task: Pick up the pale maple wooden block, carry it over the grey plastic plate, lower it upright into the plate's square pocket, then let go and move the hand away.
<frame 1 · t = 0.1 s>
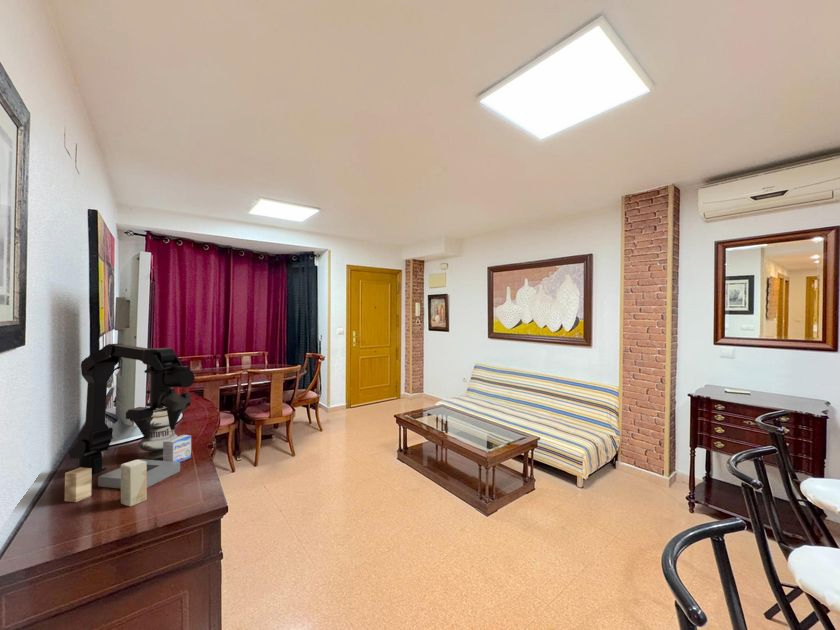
hand: (160, 433, 115), 15 cm above the table, tool pointing down, fingers open, 9 cm apart
apothecary jar: (159, 457, 134), on the table
box: (133, 502, 100), on the table
maple block: (78, 498, 102), on the table
medicine box: (177, 462, 129), on the table
pocket plate: (141, 478, 115), on the table
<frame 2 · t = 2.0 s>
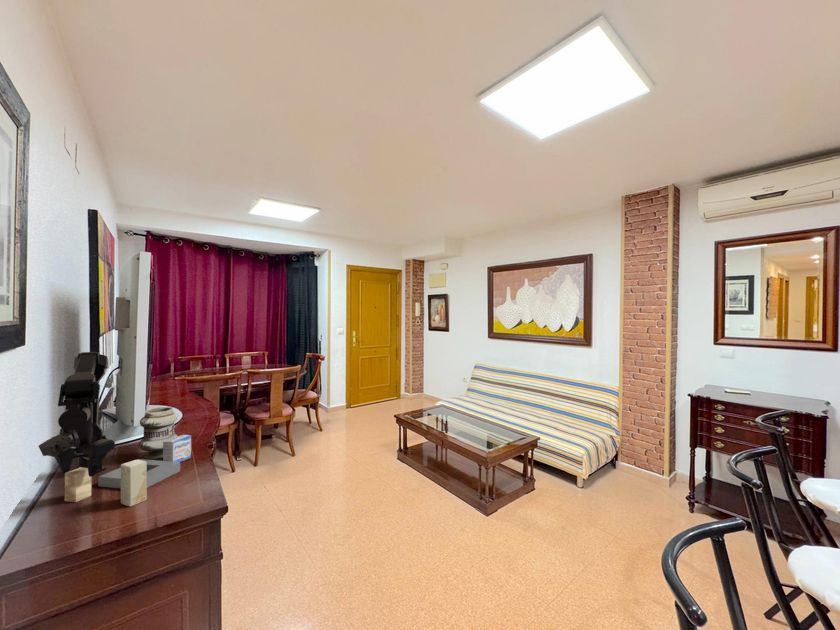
hand: (78, 474, 103), 7 cm above the table, tool pointing down, fingers open, 9 cm apart
nothing on the table moved.
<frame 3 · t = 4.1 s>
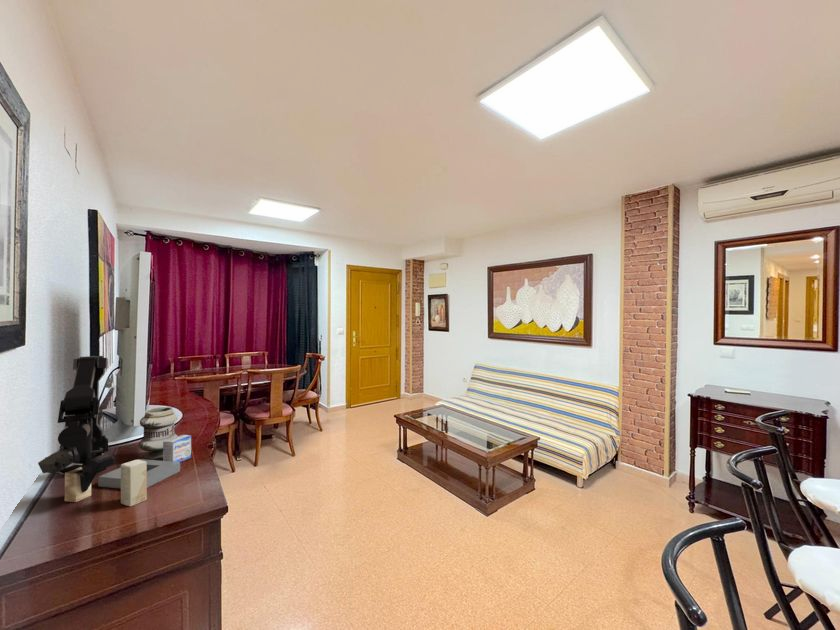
hand: (78, 491, 102), 2 cm above the table, tool pointing down, fingers closed on maple block, 4 cm apart
maple block: (78, 498, 102), on the table, touching gripper
everything else where it was.
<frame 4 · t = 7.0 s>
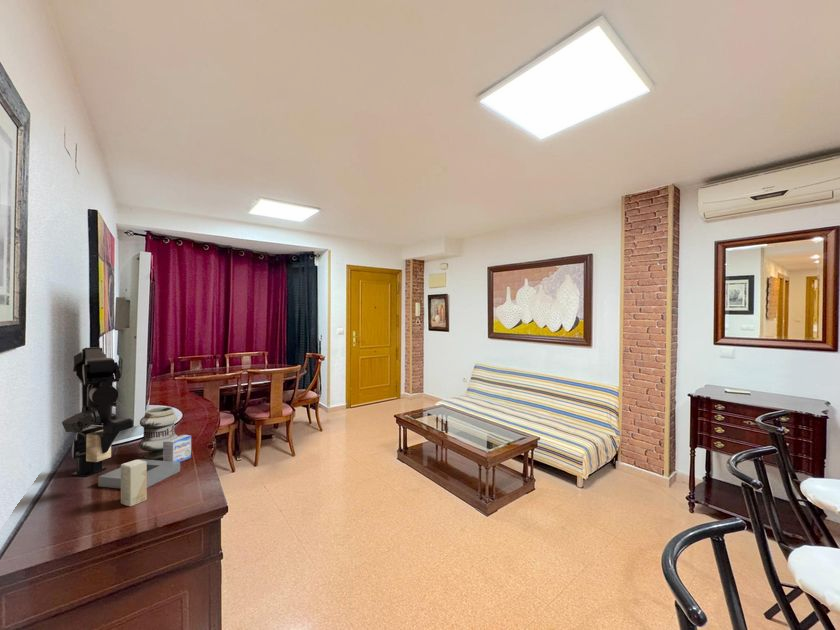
hand: (99, 452, 106), 12 cm above the table, tool pointing down, fingers closed on maple block, 4 cm apart
maple block: (98, 459, 106), point 10 cm above the table, touching gripper
everything else where it was.
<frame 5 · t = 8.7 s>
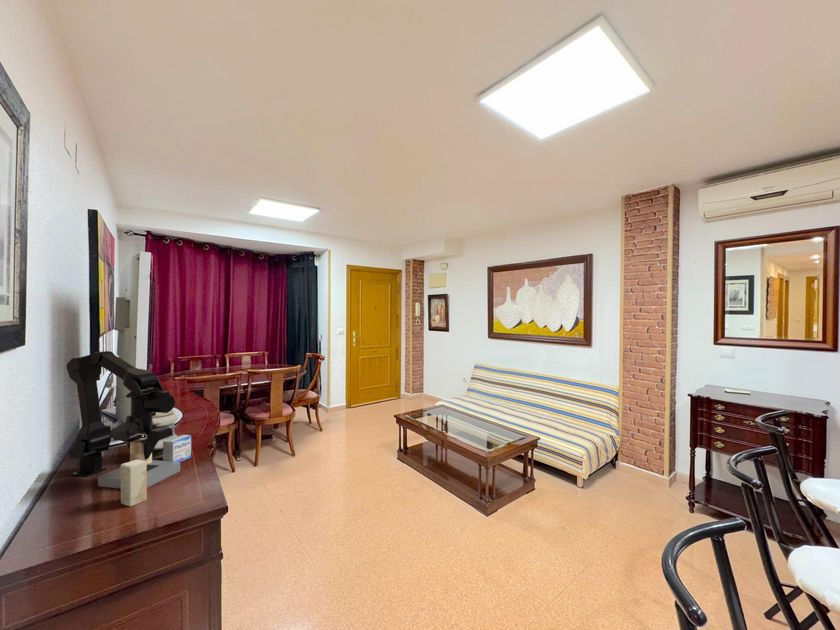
hand: (141, 458, 115), 6 cm above the table, tool pointing down, fingers closed on maple block, 4 cm apart
maple block: (141, 464, 115), point 4 cm above the table, touching gripper
everything else where it was.
when the fingers open (4 cm above the table, at t = 10.2 s): maple block drops 2 cm, resting on pocket plate.
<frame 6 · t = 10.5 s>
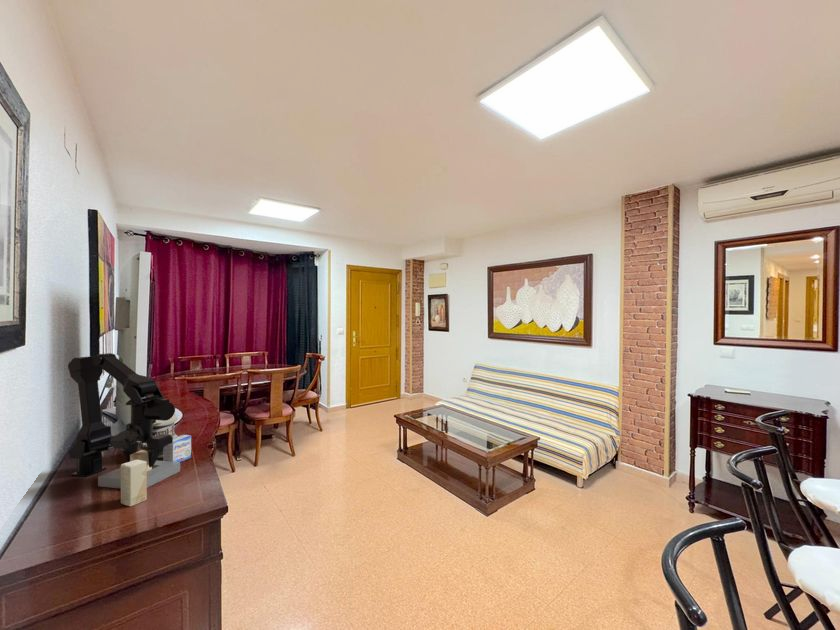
hand: (141, 466, 115), 4 cm above the table, tool pointing down, fingers open, 7 cm apart
maple block: (141, 477, 115), resting on pocket plate
everything else where it was.
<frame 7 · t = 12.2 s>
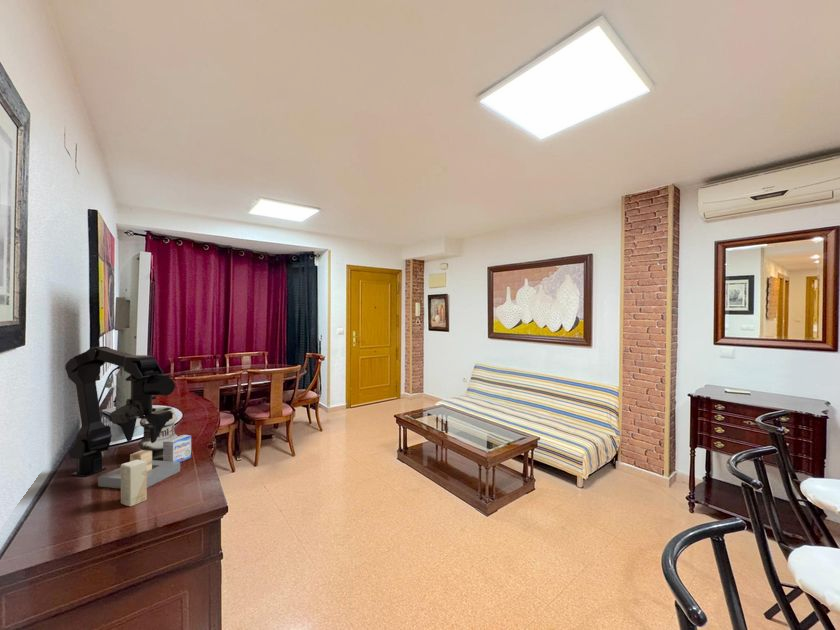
hand: (141, 441, 115), 12 cm above the table, tool pointing down, fingers open, 9 cm apart
nothing on the table moved.
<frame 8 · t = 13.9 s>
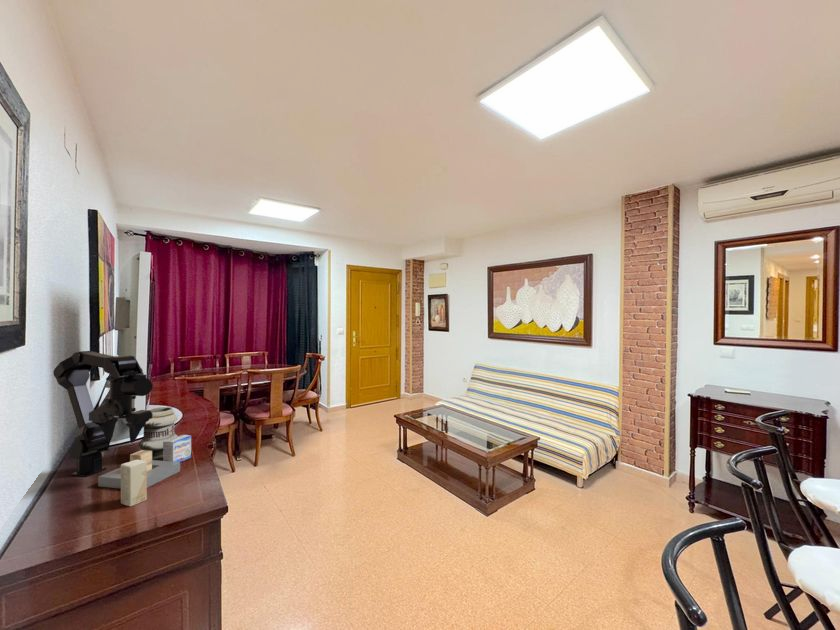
hand: (120, 441, 116), 12 cm above the table, tool pointing down, fingers open, 9 cm apart
nothing on the table moved.
at the end: maple block 0.0 cm off-centre on the pocket plate, point 0.4 cm above the pocket plate's base; maple block tilted 0°; the gripper is holding nothing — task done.
